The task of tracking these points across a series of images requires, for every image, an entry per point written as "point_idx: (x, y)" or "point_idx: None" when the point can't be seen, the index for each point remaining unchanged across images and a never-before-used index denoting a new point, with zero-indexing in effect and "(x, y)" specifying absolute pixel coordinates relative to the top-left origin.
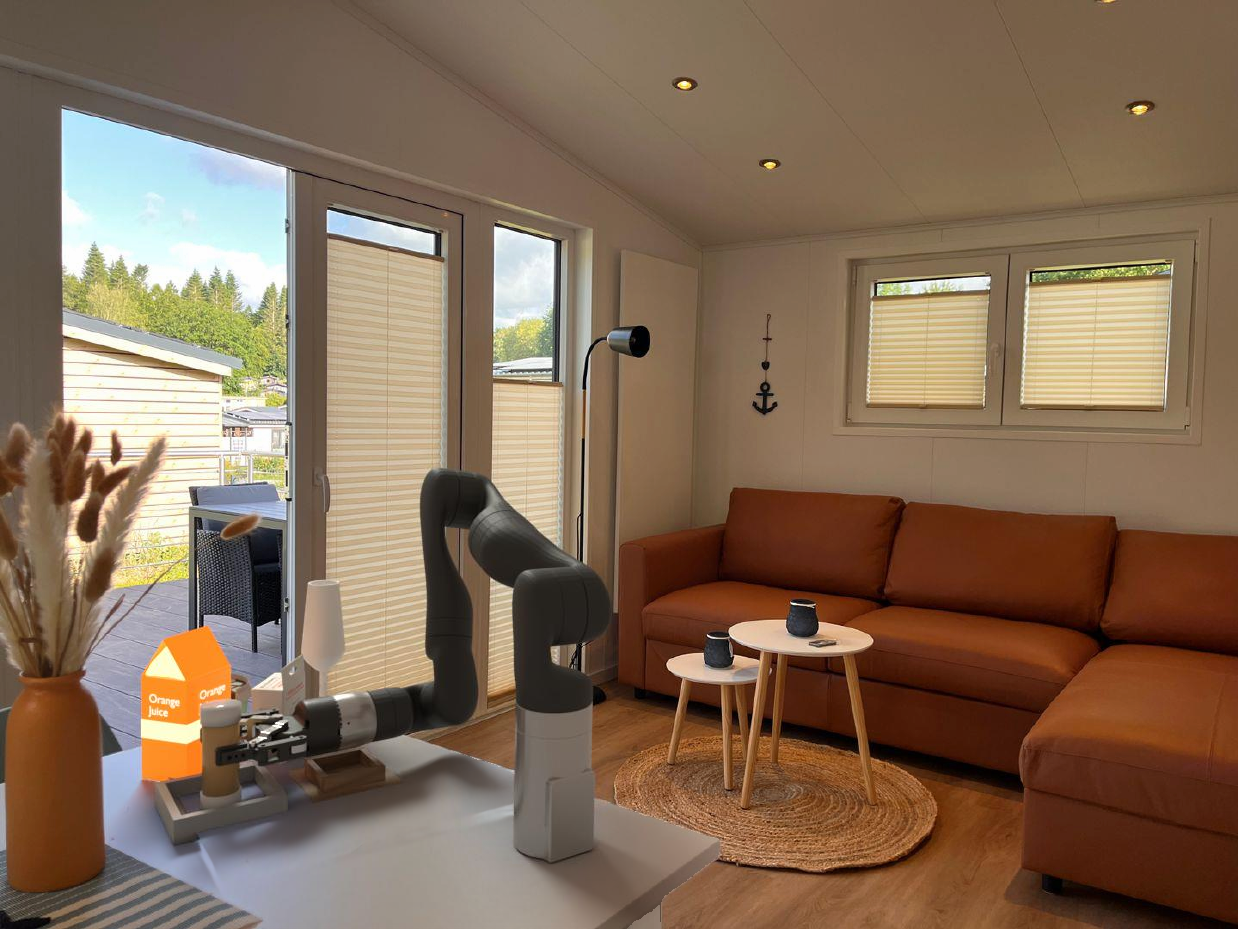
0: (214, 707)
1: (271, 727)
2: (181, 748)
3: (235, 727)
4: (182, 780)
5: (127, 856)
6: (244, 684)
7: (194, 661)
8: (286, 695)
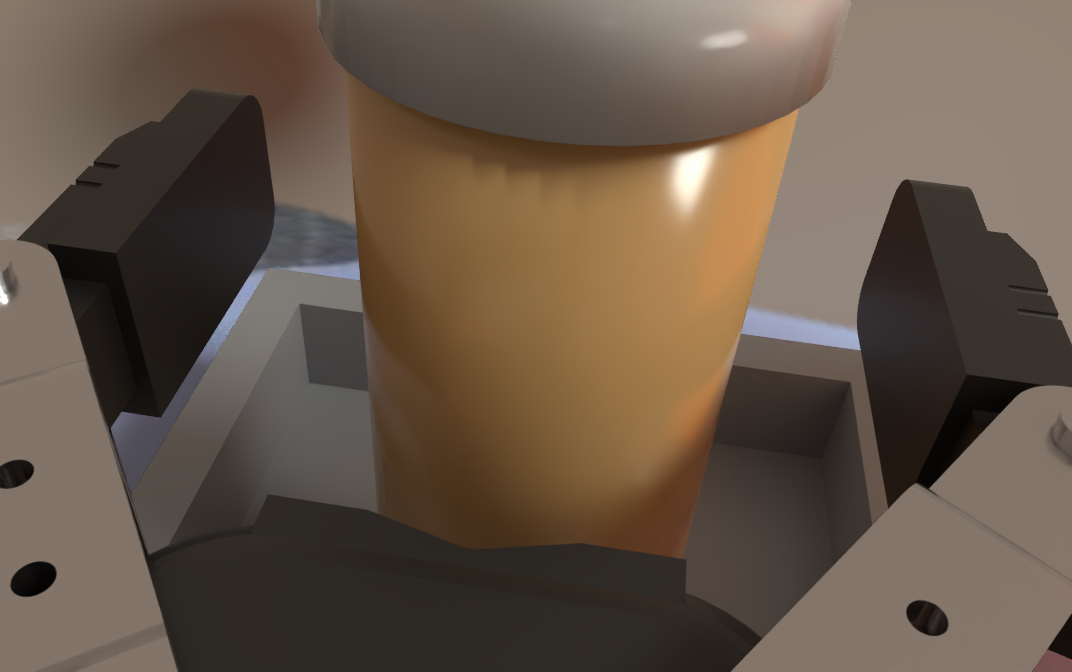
0: None
1: (98, 541)
2: None
3: (359, 120)
4: (863, 463)
5: (351, 256)
6: None
7: None
8: None
